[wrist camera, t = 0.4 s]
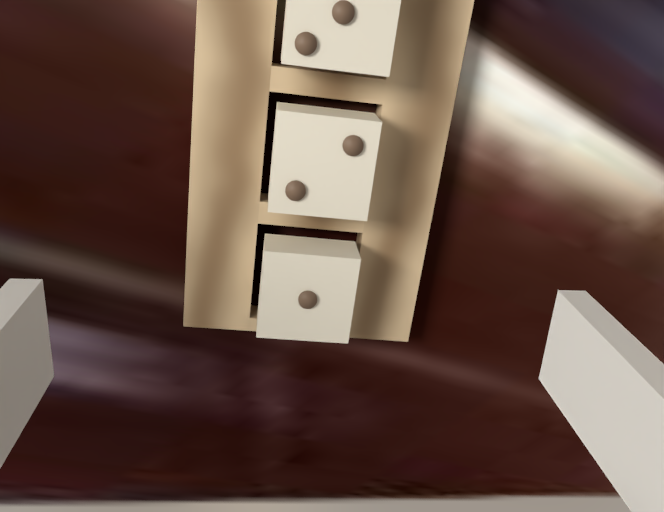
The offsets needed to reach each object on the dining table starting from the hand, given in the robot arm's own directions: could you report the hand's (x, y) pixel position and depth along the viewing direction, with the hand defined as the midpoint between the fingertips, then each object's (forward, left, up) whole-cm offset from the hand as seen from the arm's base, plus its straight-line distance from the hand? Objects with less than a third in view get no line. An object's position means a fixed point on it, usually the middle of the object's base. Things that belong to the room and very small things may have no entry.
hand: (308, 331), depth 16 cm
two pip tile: (+2, -1, -24) cm, 25 cm away
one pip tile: (+2, -9, -24) cm, 26 cm away
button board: (+2, -1, -27) cm, 27 cm away
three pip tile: (+2, +8, -24) cm, 26 cm away
